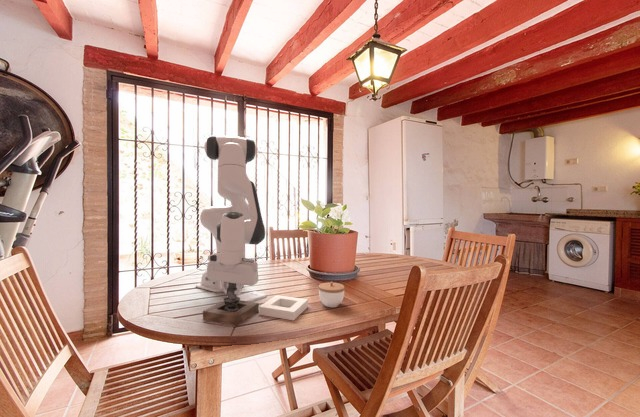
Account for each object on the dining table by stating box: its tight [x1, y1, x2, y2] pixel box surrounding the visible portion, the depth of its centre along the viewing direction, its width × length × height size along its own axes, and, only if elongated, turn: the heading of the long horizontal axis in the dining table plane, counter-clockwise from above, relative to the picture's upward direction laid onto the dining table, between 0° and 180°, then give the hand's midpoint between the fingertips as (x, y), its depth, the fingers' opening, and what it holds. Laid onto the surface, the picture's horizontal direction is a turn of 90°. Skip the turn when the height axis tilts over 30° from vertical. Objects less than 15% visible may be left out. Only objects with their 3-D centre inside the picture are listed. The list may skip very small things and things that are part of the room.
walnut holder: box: [202, 300, 260, 327], centre depth 106 cm, size 14×14×3 cm
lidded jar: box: [318, 281, 346, 308], centre depth 119 cm, size 11×11×9 cm
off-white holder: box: [258, 294, 309, 321], centre depth 112 cm, size 14×14×3 cm
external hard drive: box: [237, 290, 267, 302], centre depth 125 cm, size 2×8×12 cm
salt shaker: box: [223, 282, 240, 312], centre depth 107 cm, size 6×6×12 cm
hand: (232, 293), depth 107 cm, fingers closed on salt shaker, 3 cm apart
